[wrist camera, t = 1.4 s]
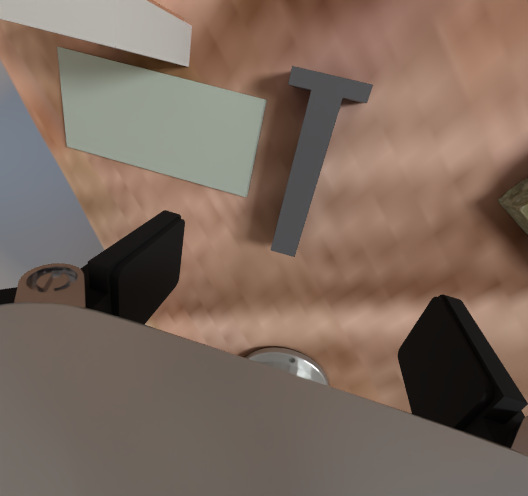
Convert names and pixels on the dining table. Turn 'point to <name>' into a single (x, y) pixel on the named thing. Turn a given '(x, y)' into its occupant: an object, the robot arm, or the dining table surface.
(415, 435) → the robot arm
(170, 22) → the tile
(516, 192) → the decorative tile
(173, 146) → the mat
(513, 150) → the dining table surface
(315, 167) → the grey t-shaped block
